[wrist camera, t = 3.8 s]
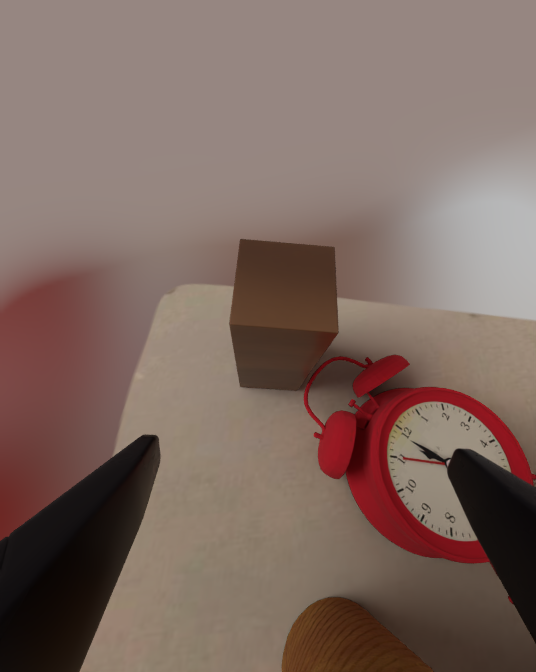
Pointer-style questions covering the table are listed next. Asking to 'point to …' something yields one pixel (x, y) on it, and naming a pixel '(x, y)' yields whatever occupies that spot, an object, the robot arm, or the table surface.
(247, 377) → the brown rectangular block
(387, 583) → the table surface
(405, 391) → the alarm clock
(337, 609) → the disposable coffee cup
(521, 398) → the table surface
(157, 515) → the table surface
